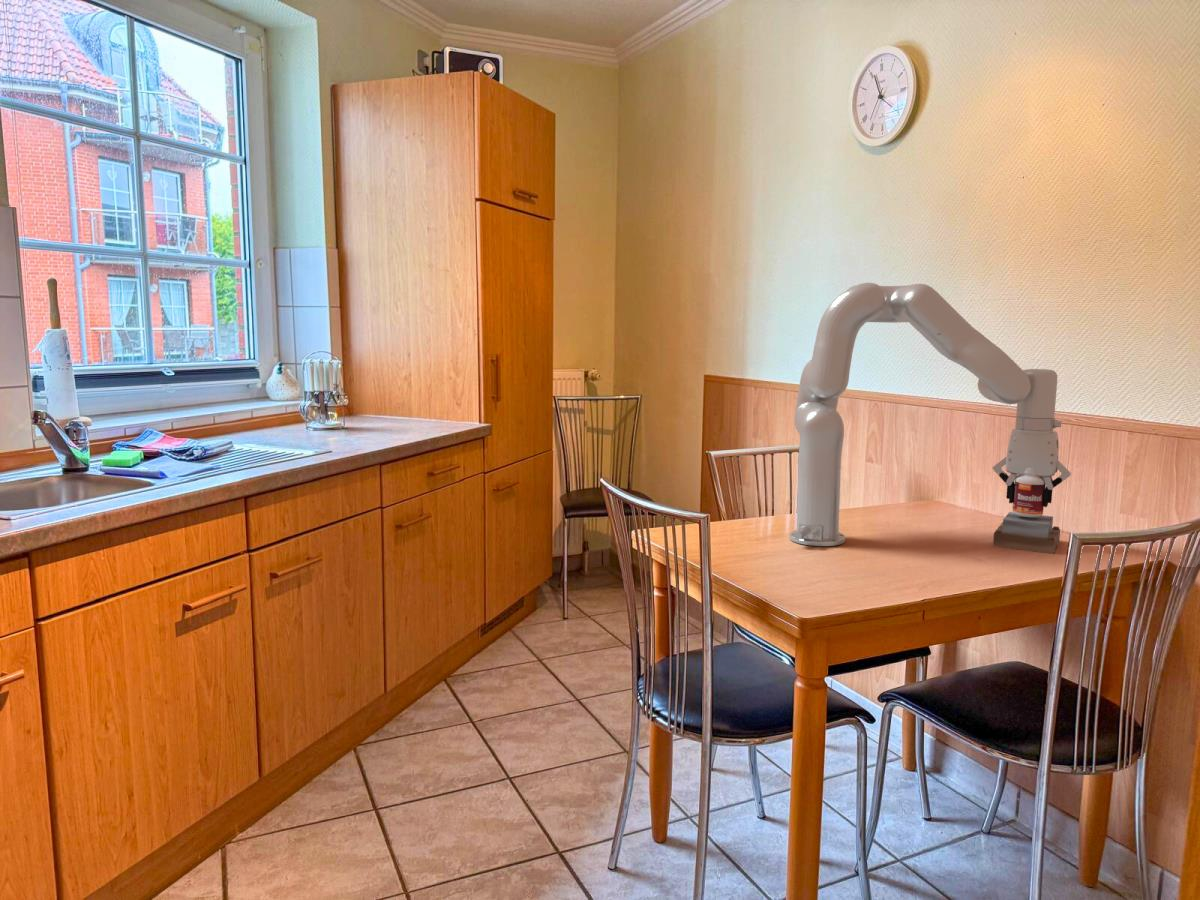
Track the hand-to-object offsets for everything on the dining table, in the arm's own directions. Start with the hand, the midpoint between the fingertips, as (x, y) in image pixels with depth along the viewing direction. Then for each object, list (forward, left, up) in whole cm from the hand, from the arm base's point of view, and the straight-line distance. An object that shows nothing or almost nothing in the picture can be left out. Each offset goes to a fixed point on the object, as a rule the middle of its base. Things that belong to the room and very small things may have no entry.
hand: (1028, 503), depth 184 cm
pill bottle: (0, 0, -3) cm, 3 cm away
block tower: (0, 0, -9) cm, 9 cm away
